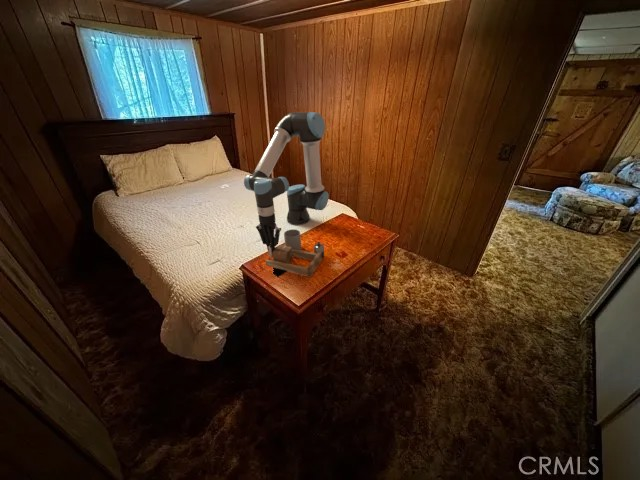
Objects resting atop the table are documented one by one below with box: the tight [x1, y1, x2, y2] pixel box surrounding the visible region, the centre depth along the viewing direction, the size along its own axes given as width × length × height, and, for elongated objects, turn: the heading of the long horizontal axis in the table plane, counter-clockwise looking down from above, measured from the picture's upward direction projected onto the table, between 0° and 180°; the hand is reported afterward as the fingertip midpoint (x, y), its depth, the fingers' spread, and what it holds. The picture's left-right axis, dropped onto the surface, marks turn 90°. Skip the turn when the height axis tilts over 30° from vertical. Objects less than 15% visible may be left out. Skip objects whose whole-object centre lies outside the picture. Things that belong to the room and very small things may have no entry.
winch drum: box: [313, 241, 325, 259], centre depth 128 cm, size 5×5×8 cm
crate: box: [272, 244, 294, 264], centre depth 126 cm, size 7×7×7 cm
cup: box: [283, 229, 302, 251], centre depth 135 cm, size 8×8×10 cm
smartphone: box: [272, 268, 288, 278], centre depth 123 cm, size 7×1×15 cm
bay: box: [265, 249, 323, 278], centre depth 124 cm, size 14×24×5 cm, turn 69°
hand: (272, 256), depth 128 cm, fingers closed
